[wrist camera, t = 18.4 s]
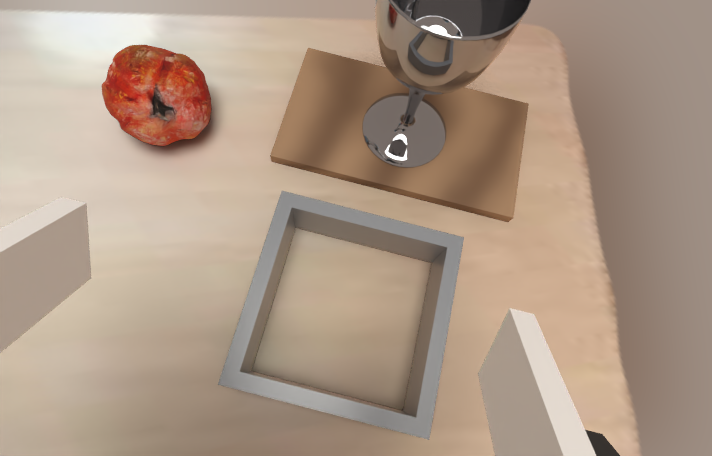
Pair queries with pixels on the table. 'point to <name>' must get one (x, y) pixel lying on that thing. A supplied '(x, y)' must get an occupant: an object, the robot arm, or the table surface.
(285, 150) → the board
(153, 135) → the pomegranate
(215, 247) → the table surface
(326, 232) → the square frame
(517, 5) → the wine glass
